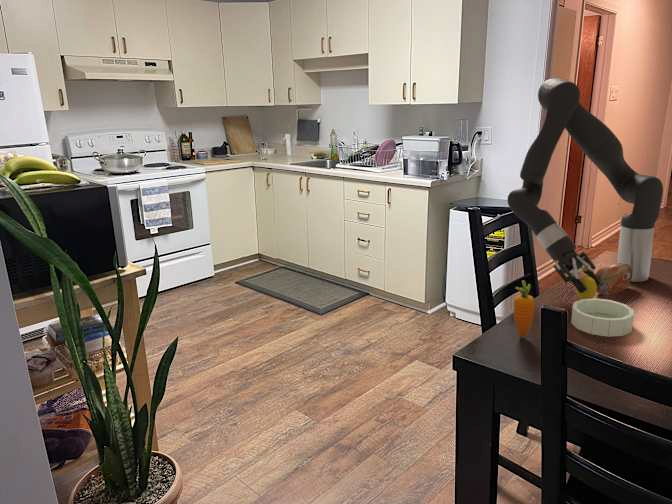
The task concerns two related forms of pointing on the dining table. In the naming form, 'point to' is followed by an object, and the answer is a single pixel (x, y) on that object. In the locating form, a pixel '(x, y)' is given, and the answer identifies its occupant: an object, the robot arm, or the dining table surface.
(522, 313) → the carrot
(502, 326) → the dining table surface
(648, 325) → the dining table surface
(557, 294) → the dining table surface
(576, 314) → the bowl
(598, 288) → the tin
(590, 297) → the lemon
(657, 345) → the dining table surface
